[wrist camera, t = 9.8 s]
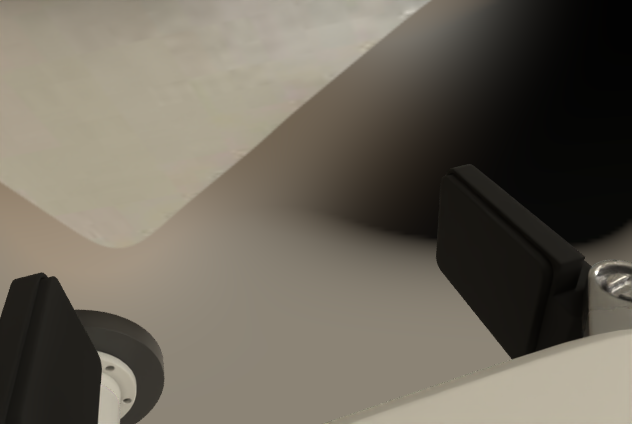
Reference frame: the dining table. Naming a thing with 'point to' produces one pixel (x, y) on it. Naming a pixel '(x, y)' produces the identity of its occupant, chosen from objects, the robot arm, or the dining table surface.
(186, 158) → the dining table surface
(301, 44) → the dining table surface
